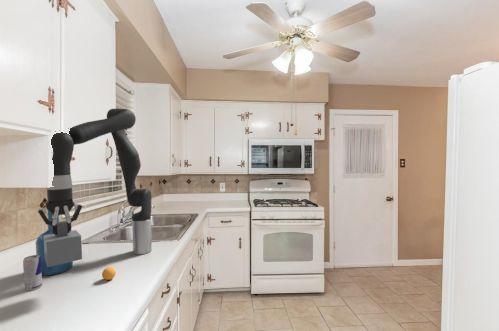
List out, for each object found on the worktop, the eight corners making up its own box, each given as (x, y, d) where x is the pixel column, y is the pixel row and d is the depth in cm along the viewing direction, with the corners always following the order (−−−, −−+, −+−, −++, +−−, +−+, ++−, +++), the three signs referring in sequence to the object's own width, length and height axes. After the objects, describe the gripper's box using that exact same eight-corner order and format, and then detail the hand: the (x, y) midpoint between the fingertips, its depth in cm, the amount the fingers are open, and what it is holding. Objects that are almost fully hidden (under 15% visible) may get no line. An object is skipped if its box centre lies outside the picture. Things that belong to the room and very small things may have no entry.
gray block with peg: (44, 258, 99) (42, 222, 99) (76, 251, 106) (75, 217, 105) (47, 267, 92) (45, 227, 91) (82, 259, 98) (80, 222, 98)
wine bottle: (44, 266, 124) (41, 202, 123) (77, 262, 128) (74, 200, 127) (30, 279, 111) (27, 207, 110) (67, 274, 115) (64, 205, 114)
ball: (110, 278, 112) (98, 276, 109) (115, 266, 113) (103, 264, 110) (114, 282, 108) (101, 280, 105) (119, 270, 110) (107, 267, 107)
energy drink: (45, 284, 106) (44, 254, 106) (35, 291, 101) (33, 259, 100) (31, 284, 106) (30, 254, 106) (20, 291, 101) (19, 260, 100)
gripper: (80, 184, 105) (82, 228, 106) (34, 188, 96) (37, 235, 97) (84, 186, 100) (86, 232, 100) (36, 190, 90) (38, 240, 91)
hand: (62, 233), depth 98 cm, fingers closed on gray block with peg, 3 cm apart
